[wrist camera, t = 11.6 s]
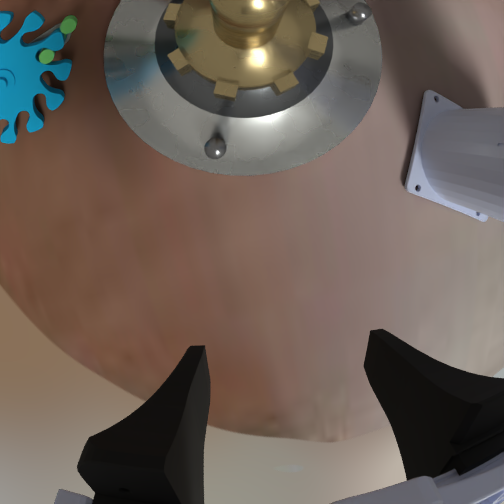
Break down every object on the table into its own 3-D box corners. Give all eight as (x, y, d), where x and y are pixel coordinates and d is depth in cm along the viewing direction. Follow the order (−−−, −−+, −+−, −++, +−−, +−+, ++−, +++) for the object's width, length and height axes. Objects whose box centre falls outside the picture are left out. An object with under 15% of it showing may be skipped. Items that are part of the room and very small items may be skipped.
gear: (-9, 172, 16) (-85, 89, 7) (3, 131, 19) (-55, 57, 10) (110, 87, 17) (47, -31, 8) (105, 59, 19) (58, -34, 10)
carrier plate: (388, -15, 15) (402, -27, 12) (345, 202, 20) (359, 209, 18) (154, -63, 12) (147, -79, 10) (84, 151, 18) (67, 153, 16)
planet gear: (333, -4, 14) (369, -50, 8) (302, 119, 17) (336, 106, 11) (192, -34, 13) (180, -90, 7) (149, 86, 16) (110, 60, 10)
